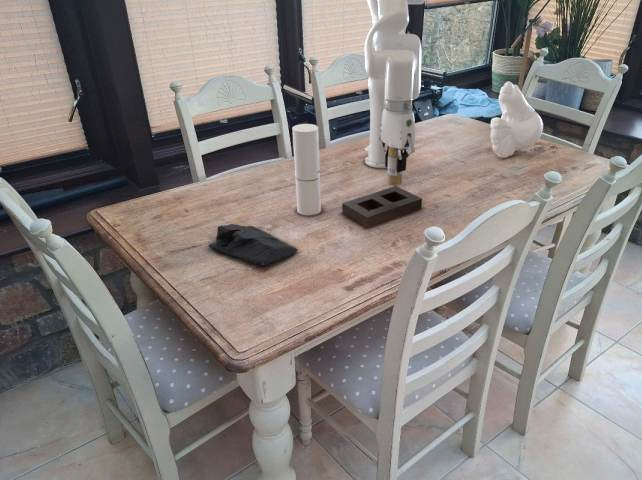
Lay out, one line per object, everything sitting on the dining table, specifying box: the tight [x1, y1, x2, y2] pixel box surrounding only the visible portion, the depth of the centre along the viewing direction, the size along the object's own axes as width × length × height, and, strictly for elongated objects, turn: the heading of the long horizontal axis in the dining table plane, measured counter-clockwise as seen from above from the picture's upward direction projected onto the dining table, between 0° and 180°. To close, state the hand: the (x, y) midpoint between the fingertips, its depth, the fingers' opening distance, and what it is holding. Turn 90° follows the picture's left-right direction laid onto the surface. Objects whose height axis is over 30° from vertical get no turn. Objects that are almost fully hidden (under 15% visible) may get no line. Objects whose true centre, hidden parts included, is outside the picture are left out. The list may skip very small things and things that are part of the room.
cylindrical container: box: [291, 123, 322, 216], centre depth 156 cm, size 7×7×25 cm
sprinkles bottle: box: [386, 141, 404, 187], centre depth 156 cm, size 5×5×13 cm
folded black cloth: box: [208, 223, 299, 266], centre depth 141 cm, size 15×22×5 cm
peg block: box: [341, 186, 423, 229], centre depth 161 cm, size 12×21×4 cm, turn 127°
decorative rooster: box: [489, 80, 544, 159], centre depth 198 cm, size 25×16×25 cm
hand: (395, 168), depth 157 cm, fingers closed on sprinkles bottle, 4 cm apart
